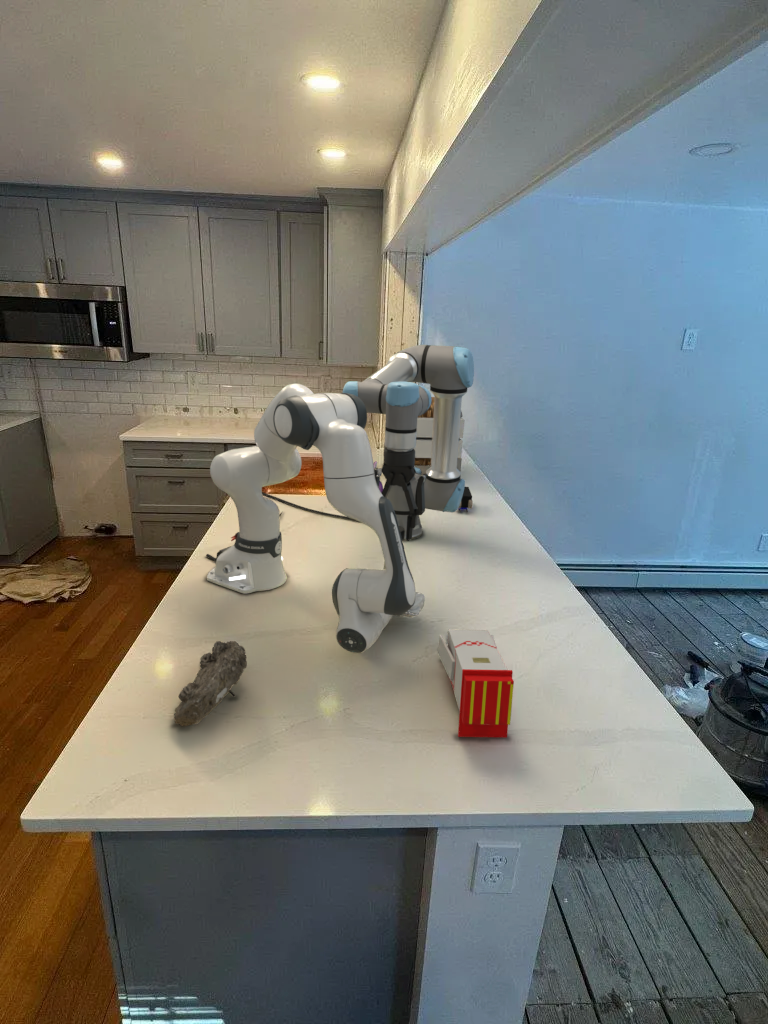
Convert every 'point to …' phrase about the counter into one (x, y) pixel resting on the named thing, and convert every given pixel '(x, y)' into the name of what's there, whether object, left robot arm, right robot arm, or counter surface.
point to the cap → (402, 532)
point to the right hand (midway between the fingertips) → (395, 536)
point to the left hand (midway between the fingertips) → (393, 584)
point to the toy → (478, 682)
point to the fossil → (211, 682)
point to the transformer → (425, 438)
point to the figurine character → (466, 500)
